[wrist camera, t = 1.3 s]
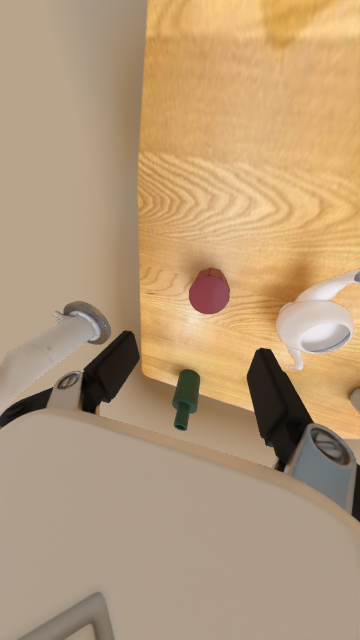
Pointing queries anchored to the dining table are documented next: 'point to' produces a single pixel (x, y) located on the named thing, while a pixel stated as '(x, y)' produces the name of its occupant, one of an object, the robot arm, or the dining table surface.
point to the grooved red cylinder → (209, 291)
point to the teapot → (317, 319)
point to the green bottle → (186, 397)
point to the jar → (355, 399)
